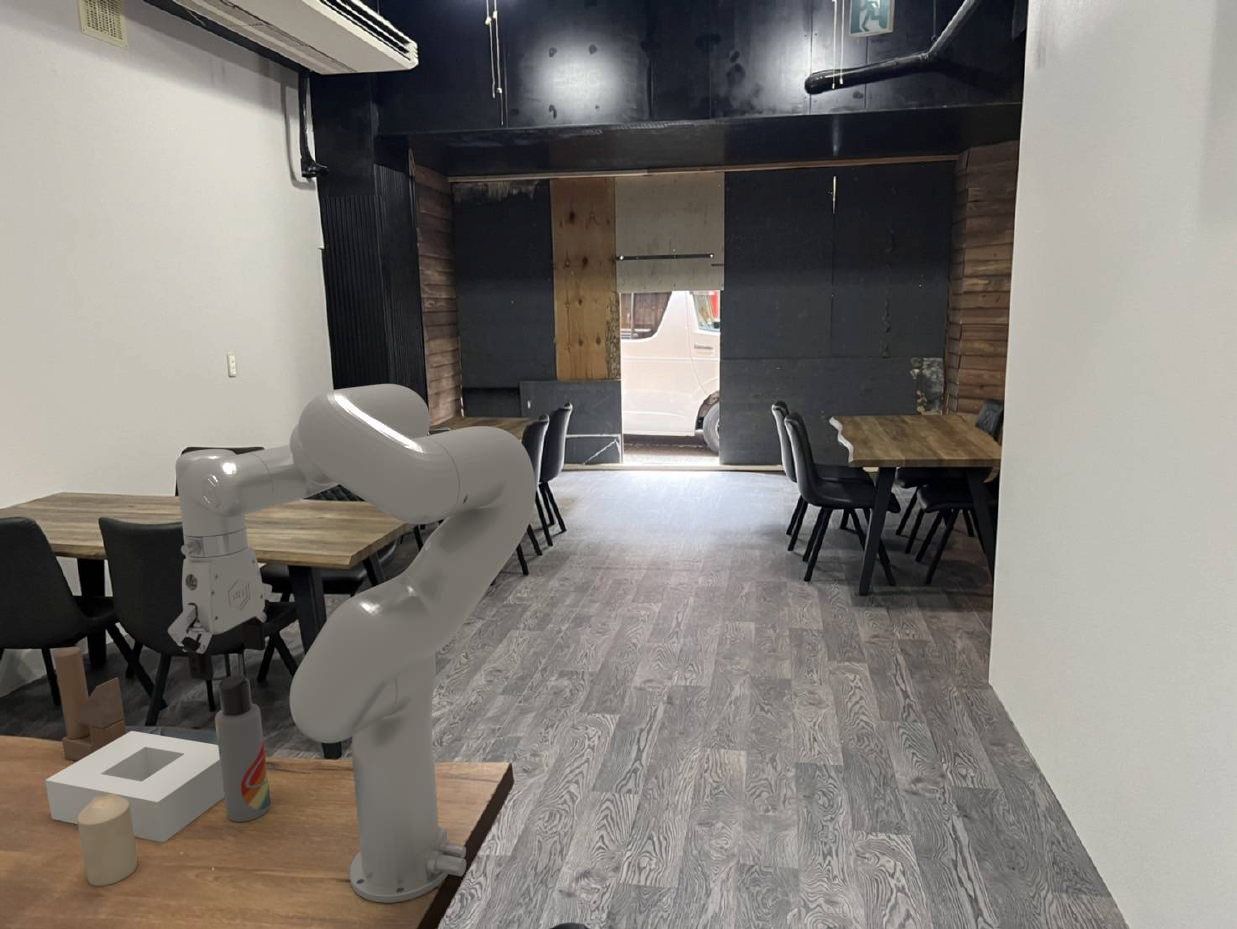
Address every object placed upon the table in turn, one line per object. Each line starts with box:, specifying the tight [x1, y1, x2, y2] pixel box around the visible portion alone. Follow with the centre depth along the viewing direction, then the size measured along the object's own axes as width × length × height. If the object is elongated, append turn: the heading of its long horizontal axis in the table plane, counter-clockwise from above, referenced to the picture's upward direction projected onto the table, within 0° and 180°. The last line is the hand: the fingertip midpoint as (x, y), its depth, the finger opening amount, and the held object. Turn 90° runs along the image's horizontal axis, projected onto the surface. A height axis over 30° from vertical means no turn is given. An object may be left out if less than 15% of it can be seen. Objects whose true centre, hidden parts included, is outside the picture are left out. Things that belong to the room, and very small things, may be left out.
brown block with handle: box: [53, 646, 127, 762], centre depth 128 cm, size 4×11×18 cm, turn 67°
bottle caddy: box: [45, 730, 225, 844], centre depth 117 cm, size 20×14×6 cm
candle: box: [77, 794, 139, 887], centre depth 102 cm, size 6×6×10 cm
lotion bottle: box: [214, 674, 271, 823], centre depth 113 cm, size 6×6×20 cm
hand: (229, 663), depth 111 cm, fingers open, 9 cm apart
